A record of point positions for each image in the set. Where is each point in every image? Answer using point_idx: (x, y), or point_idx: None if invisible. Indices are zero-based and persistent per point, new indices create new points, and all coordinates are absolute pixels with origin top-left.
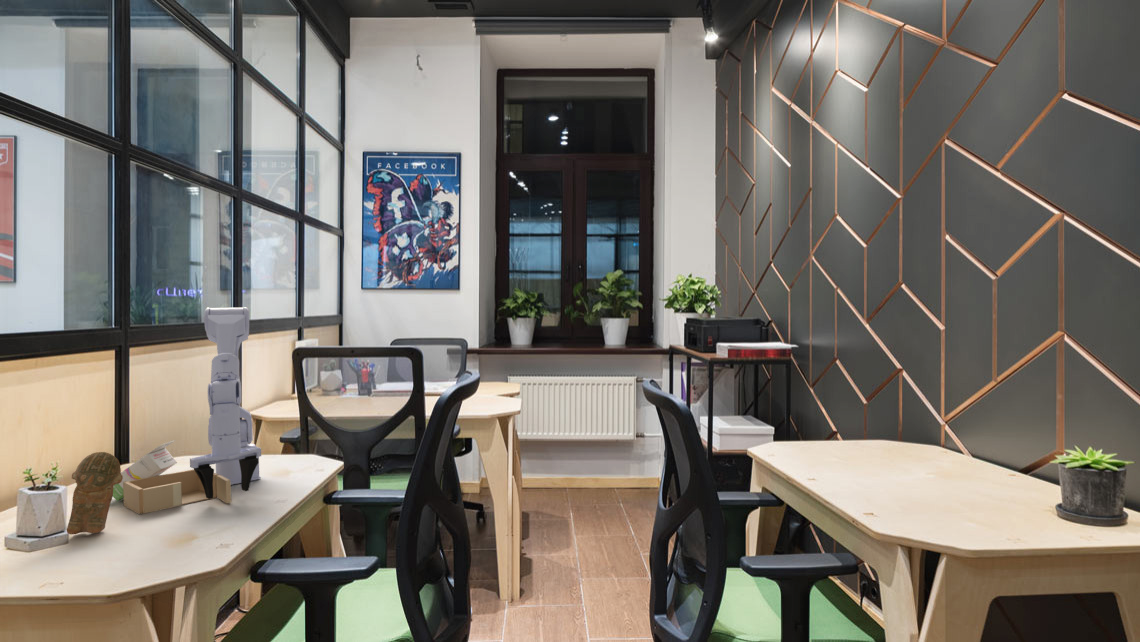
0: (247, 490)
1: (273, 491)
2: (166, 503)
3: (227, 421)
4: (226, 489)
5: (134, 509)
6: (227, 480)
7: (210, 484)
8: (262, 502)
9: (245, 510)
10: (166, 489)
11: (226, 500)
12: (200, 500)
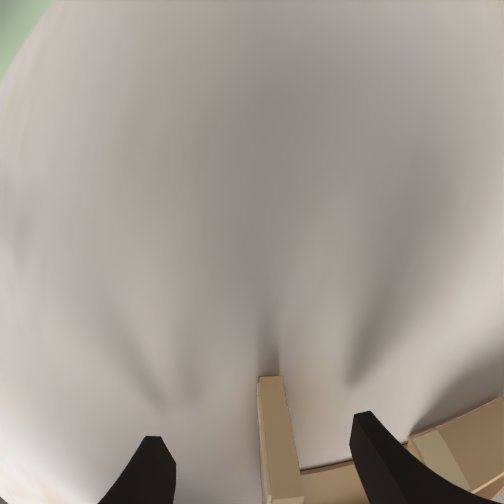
0: (150, 437)
1: (53, 414)
2: (461, 432)
3: None
4: (293, 443)
5: None
6: (290, 500)
7: (407, 469)
8: (93, 274)
9: (229, 148)
10: (483, 469)
11: (283, 390)
12: (335, 466)
